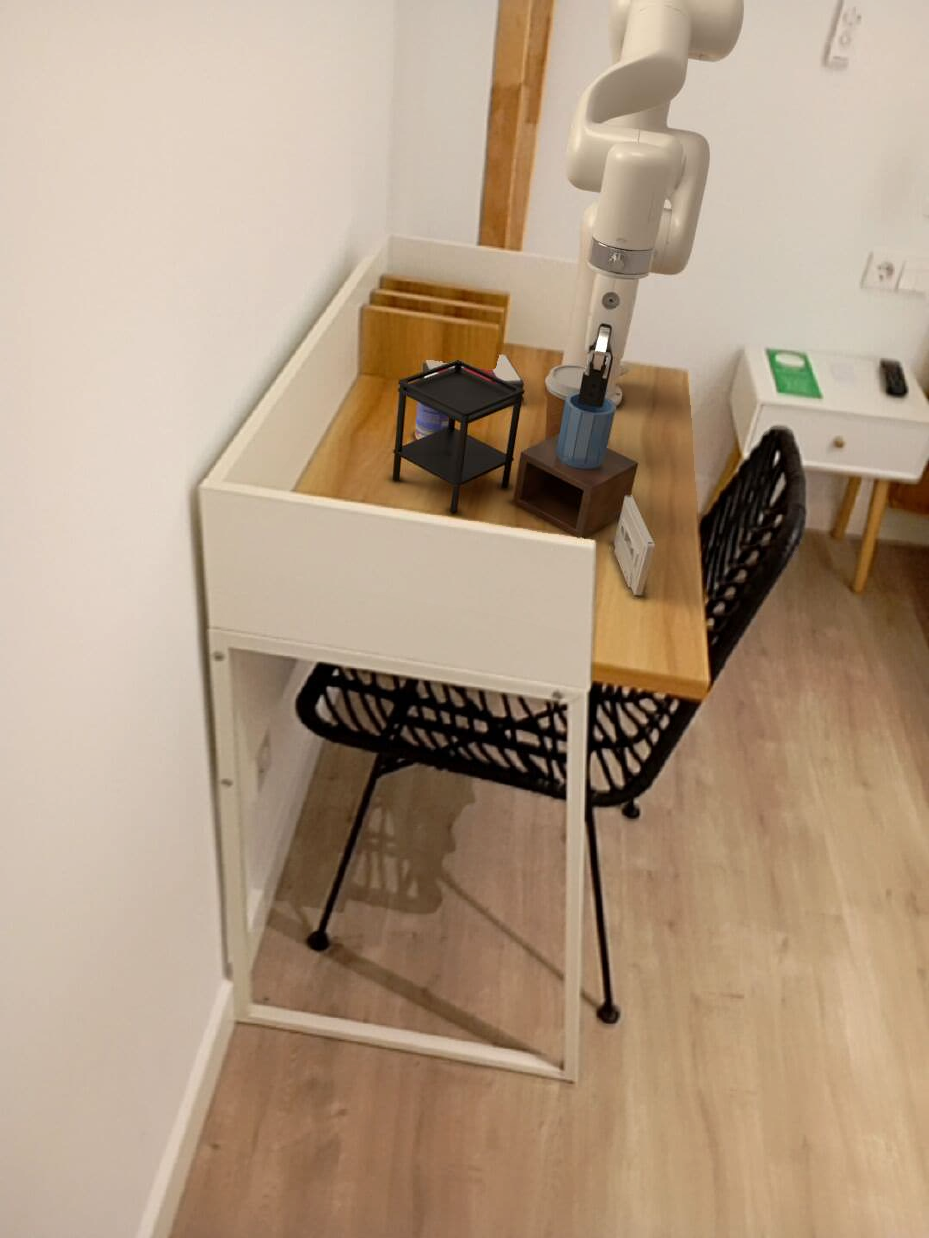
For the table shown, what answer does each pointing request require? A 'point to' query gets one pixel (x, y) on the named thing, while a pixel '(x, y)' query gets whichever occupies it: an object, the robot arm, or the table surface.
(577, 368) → the disposable coffee cup
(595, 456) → the blue cup
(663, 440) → the table surface
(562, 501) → the shelf
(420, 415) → the pill bottle
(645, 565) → the cassette
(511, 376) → the calculator
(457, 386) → the tray
